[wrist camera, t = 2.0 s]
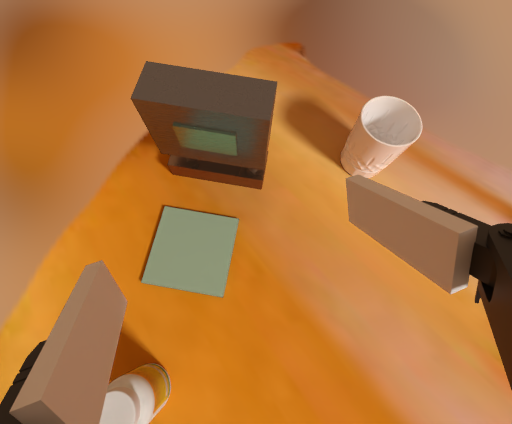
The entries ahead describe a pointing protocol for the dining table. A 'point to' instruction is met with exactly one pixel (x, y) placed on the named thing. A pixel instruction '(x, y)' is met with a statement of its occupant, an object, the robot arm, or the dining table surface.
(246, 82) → the mounted unit
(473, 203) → the dining table surface
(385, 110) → the white cup
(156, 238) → the green mat
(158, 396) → the supplement bottle
